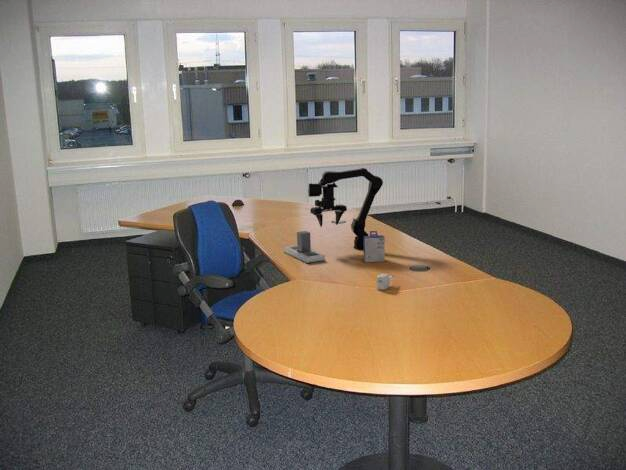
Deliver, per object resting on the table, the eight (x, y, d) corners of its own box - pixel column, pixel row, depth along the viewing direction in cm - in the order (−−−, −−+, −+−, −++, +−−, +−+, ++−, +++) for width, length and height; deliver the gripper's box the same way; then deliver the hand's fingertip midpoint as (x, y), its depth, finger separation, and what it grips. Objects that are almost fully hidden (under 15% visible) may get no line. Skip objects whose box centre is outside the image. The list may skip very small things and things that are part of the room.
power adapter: (385, 282, 262) (385, 269, 260) (395, 283, 259) (396, 270, 258) (374, 289, 252) (374, 276, 251) (385, 291, 250) (385, 277, 249)
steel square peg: (306, 254, 311) (305, 230, 309) (310, 256, 307) (310, 232, 304) (297, 255, 309) (296, 232, 306) (301, 257, 305) (301, 233, 302)
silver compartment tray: (284, 252, 317) (284, 247, 316) (301, 250, 321) (301, 244, 321) (306, 263, 294) (306, 257, 294) (325, 261, 299) (324, 255, 298)
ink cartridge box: (383, 258, 300) (383, 230, 297) (385, 261, 295) (385, 232, 292) (363, 259, 300) (363, 230, 297) (365, 262, 294) (365, 233, 291)
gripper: (336, 192, 326) (337, 221, 329) (305, 195, 318) (306, 225, 321) (347, 195, 316) (347, 224, 320) (315, 198, 308) (315, 228, 311)
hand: (328, 225), depth 318 cm, fingers open, 9 cm apart
